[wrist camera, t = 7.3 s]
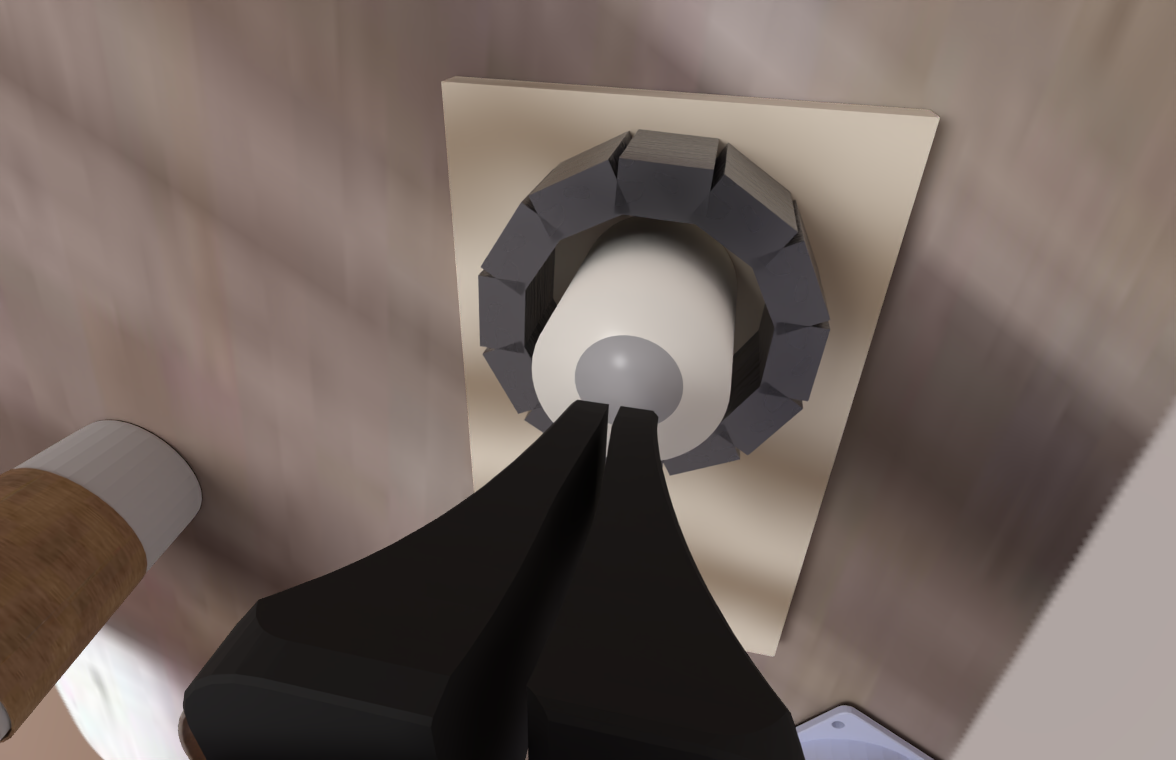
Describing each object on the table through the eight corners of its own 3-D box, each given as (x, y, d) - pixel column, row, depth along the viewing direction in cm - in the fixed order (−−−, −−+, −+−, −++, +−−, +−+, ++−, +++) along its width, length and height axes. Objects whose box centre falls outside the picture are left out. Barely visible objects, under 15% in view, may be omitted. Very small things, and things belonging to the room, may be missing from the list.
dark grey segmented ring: (681, 455, 21) (672, 519, 19) (465, 306, 20) (425, 354, 18) (884, 267, 17) (909, 319, 14) (623, 58, 16) (600, 75, 13)
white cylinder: (672, 382, 20) (649, 492, 16) (553, 299, 19) (497, 391, 15) (771, 278, 18) (775, 376, 13) (640, 179, 17) (601, 249, 13)
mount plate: (773, 635, 26) (774, 656, 26) (490, 580, 28) (482, 598, 27) (929, 109, 16) (940, 117, 15) (455, 76, 17) (441, 81, 17)
